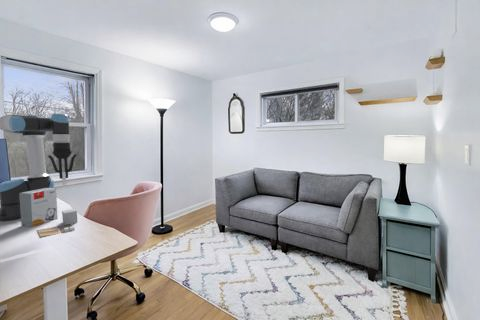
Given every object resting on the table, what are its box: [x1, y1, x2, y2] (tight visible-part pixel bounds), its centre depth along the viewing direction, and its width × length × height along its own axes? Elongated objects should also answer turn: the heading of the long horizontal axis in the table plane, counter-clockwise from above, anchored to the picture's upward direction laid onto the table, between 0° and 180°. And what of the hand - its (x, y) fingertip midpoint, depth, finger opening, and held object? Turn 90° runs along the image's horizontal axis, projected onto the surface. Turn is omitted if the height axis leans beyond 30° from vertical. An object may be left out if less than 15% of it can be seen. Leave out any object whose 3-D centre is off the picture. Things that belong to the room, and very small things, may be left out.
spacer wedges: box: [64, 225, 76, 233], centre depth 127 cm, size 2×4×2 cm, turn 136°
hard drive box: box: [19, 187, 59, 228], centre depth 139 cm, size 16×8×20 cm, turn 168°
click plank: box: [36, 226, 61, 239], centre depth 125 cm, size 12×8×1 cm, turn 46°
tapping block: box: [61, 208, 78, 225], centre depth 139 cm, size 6×6×8 cm
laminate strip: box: [56, 224, 73, 234], centre depth 130 cm, size 12×6×1 cm, turn 46°
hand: (64, 184), depth 135 cm, fingers closed
